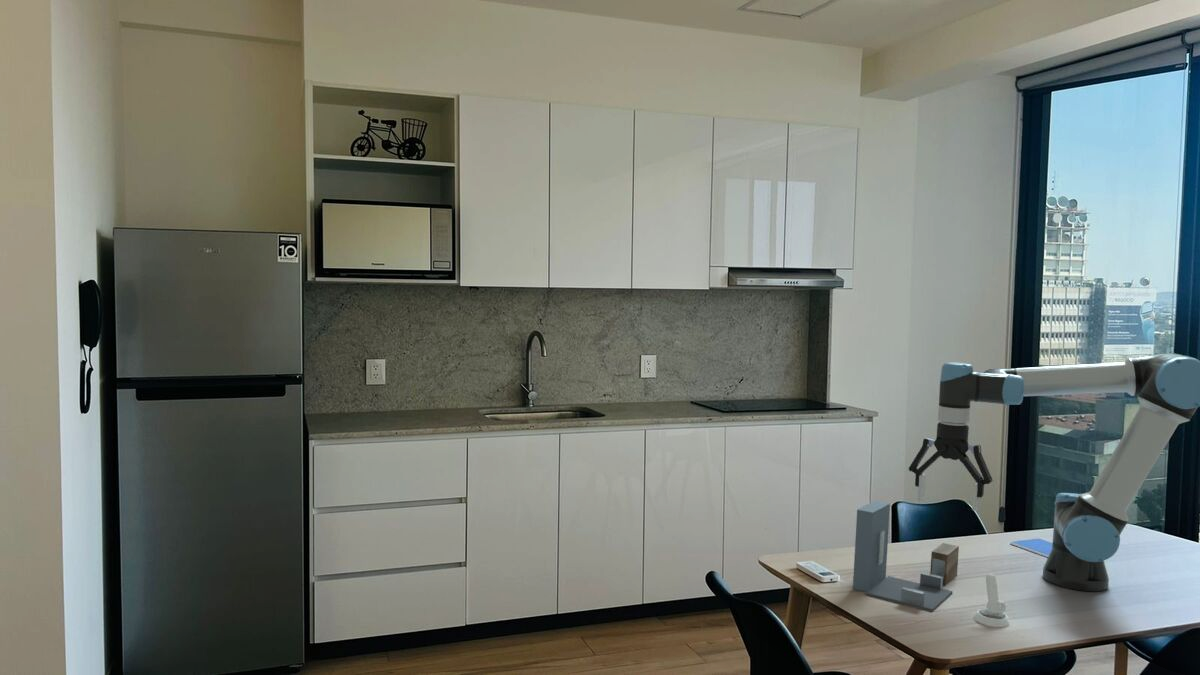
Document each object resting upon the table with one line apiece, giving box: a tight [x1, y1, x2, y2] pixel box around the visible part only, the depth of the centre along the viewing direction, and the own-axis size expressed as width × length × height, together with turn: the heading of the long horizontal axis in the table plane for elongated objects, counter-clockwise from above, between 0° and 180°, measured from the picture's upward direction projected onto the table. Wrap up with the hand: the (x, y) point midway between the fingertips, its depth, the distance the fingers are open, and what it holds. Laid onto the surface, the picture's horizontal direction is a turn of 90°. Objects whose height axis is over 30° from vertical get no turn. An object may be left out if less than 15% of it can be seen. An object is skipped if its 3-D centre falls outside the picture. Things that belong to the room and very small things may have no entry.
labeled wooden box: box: [929, 542, 960, 586], centre depth 228 cm, size 4×11×8 cm, turn 143°
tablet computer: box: [1009, 538, 1053, 559], centre depth 256 cm, size 19×13×1 cm, turn 23°
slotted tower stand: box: [852, 500, 953, 612], centre depth 217 cm, size 20×16×20 cm
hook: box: [972, 573, 1011, 628], centre depth 203 cm, size 8×12×7 cm
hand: (947, 504), depth 227 cm, fingers open, 13 cm apart
